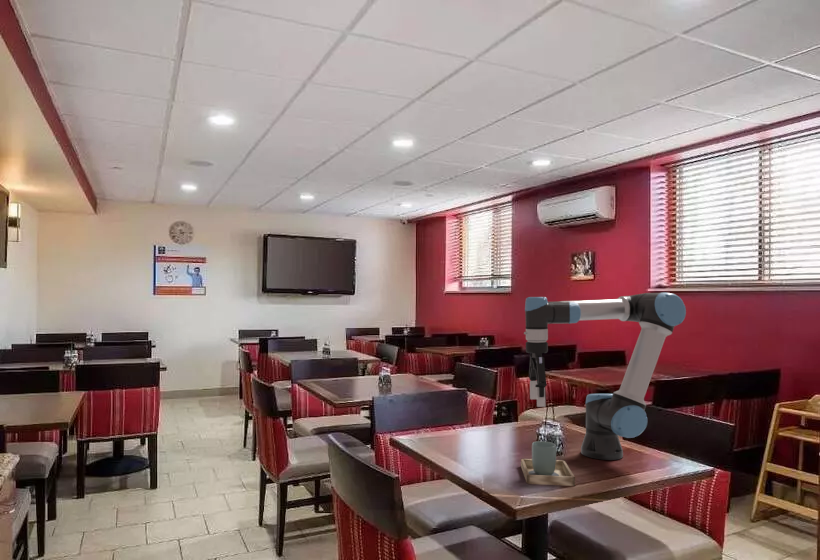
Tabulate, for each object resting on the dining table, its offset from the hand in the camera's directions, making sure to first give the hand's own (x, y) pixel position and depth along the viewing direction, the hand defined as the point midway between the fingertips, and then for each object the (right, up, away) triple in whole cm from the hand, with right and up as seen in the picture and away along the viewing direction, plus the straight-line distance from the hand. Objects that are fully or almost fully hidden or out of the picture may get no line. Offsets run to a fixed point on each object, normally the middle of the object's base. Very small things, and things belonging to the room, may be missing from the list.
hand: (537, 402), depth 199 cm
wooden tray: (+1, -23, -9) cm, 24 cm away
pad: (0, -22, -9) cm, 24 cm away
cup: (0, -22, -10) cm, 24 cm away
